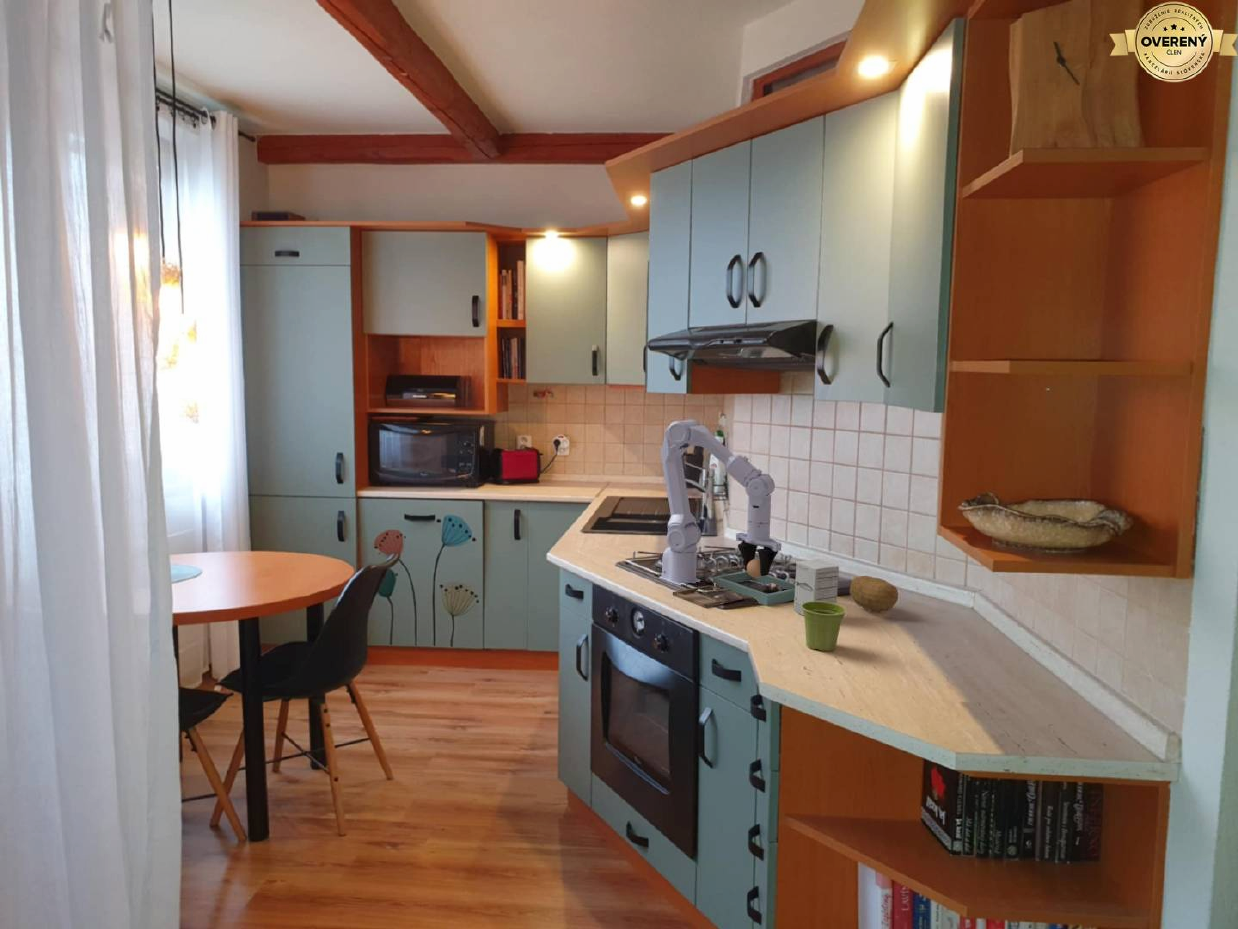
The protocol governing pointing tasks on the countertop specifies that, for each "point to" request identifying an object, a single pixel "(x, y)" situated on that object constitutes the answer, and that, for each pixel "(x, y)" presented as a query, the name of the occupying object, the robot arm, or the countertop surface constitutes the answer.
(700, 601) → the wooden trivet
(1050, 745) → the countertop surface
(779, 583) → the tray
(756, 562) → the ball
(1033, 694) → the countertop surface
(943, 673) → the countertop surface
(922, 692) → the countertop surface
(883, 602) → the potato
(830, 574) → the supplement box
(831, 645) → the plant pot
